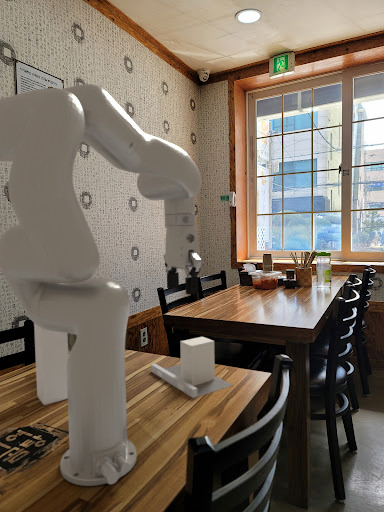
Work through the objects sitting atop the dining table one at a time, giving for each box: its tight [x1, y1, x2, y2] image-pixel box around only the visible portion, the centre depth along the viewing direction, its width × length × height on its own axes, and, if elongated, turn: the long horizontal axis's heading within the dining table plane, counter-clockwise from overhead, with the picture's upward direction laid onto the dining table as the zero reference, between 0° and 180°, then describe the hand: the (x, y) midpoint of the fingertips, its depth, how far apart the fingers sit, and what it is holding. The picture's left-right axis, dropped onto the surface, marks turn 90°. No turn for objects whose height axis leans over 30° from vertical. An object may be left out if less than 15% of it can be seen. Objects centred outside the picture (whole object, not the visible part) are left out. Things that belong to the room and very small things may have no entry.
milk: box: [33, 322, 69, 406], centre depth 88 cm, size 6×6×22 cm
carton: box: [179, 336, 216, 386], centre depth 94 cm, size 7×5×10 cm
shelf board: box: [150, 363, 234, 399], centre depth 95 cm, size 20×12×4 cm, turn 34°
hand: (182, 290), depth 92 cm, fingers open, 9 cm apart
